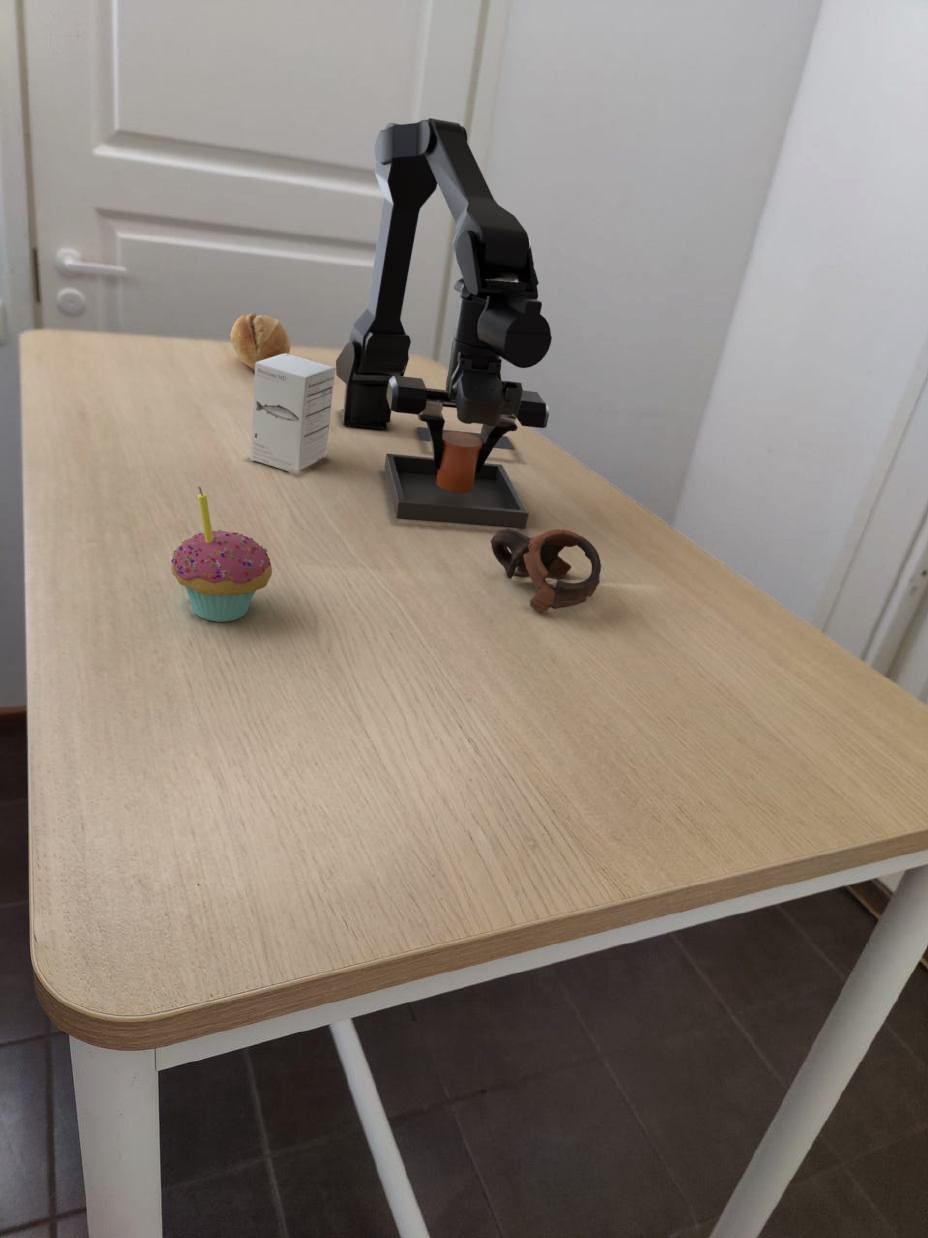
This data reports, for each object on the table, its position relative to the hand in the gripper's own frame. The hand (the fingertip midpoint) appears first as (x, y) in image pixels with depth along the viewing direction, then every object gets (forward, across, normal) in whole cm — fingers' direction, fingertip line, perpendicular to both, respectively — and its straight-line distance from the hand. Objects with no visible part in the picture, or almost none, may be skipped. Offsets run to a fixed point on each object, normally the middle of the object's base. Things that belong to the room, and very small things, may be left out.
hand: (456, 469), depth 108 cm
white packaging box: (+5, -20, +9) cm, 22 cm away
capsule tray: (+4, 0, 0) cm, 4 cm away
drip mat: (+4, +6, +22) cm, 23 cm away
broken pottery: (+5, +6, -22) cm, 23 cm away
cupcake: (+5, -26, -29) cm, 39 cm away
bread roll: (+5, -25, +52) cm, 58 cm away
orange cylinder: (+2, 0, 0) cm, 2 cm away
